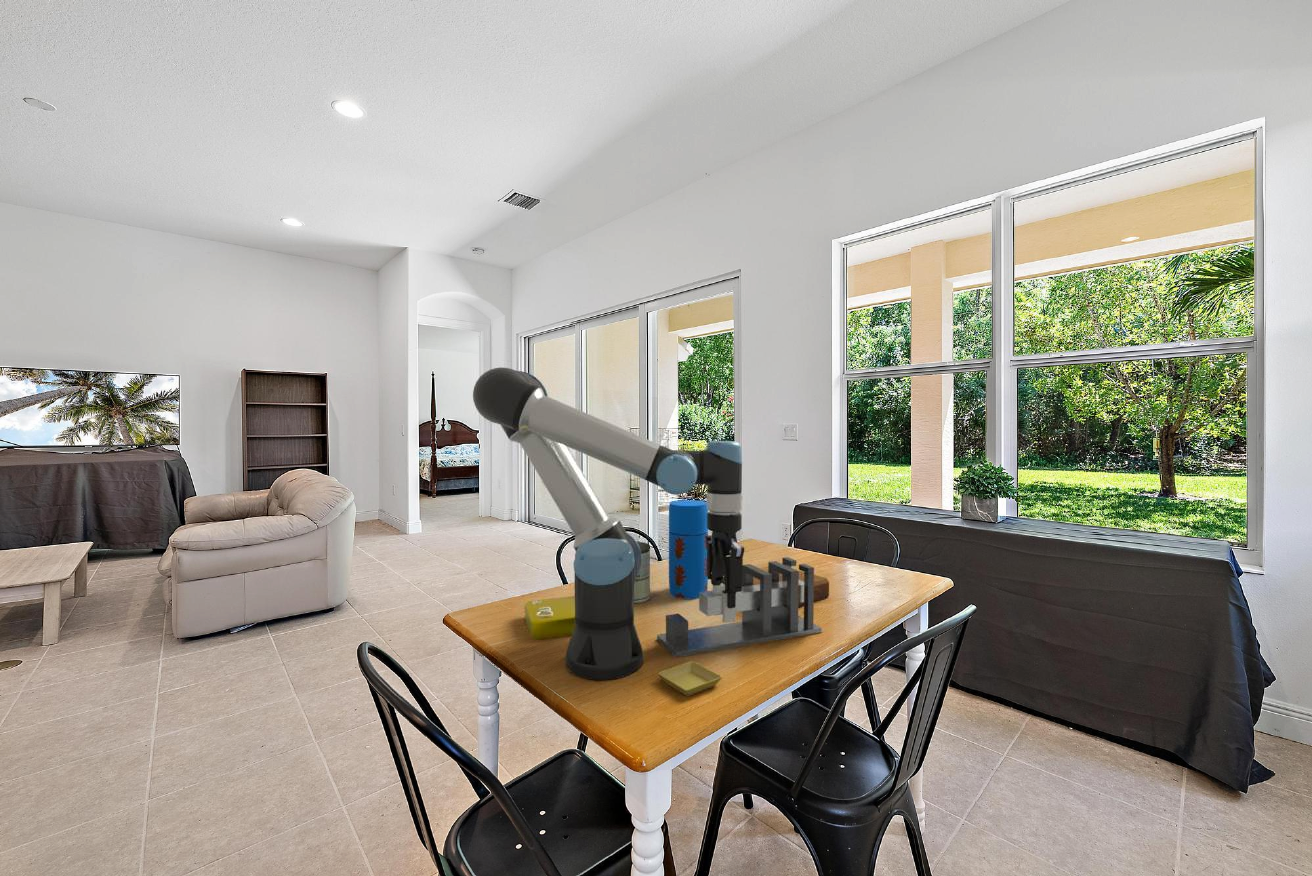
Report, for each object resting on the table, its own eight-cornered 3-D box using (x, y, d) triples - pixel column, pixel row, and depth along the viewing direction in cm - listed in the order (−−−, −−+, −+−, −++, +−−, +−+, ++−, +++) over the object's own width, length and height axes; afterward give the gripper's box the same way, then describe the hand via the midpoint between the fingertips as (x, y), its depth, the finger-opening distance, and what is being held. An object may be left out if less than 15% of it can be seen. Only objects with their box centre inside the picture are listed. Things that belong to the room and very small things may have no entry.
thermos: (661, 595, 152) (662, 504, 151) (678, 584, 161) (678, 499, 160) (698, 601, 146) (698, 507, 146) (713, 590, 156) (714, 501, 155)
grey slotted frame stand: (675, 657, 112) (675, 584, 111) (657, 639, 121) (657, 571, 121) (821, 632, 125) (822, 566, 125) (794, 617, 134) (795, 556, 134)
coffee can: (604, 598, 149) (604, 546, 148) (628, 589, 157) (628, 539, 156) (634, 606, 143) (634, 551, 142) (657, 595, 151) (657, 544, 150)
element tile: (599, 632, 126) (599, 612, 126) (532, 641, 121) (532, 620, 121) (584, 611, 140) (584, 592, 140) (523, 618, 135) (523, 599, 135)
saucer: (656, 683, 102) (656, 671, 102) (692, 670, 107) (692, 659, 107) (686, 702, 95) (686, 690, 95) (723, 687, 100) (723, 676, 100)
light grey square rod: (707, 617, 118) (707, 596, 117) (698, 610, 122) (699, 591, 121) (809, 602, 127) (809, 583, 127) (797, 596, 131) (798, 578, 131)
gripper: (760, 517, 114) (759, 629, 115) (720, 505, 130) (720, 603, 131) (727, 519, 111) (727, 634, 112) (691, 506, 127) (691, 607, 128)
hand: (723, 617), depth 122 cm, fingers closed on light grey square rod, 4 cm apart
